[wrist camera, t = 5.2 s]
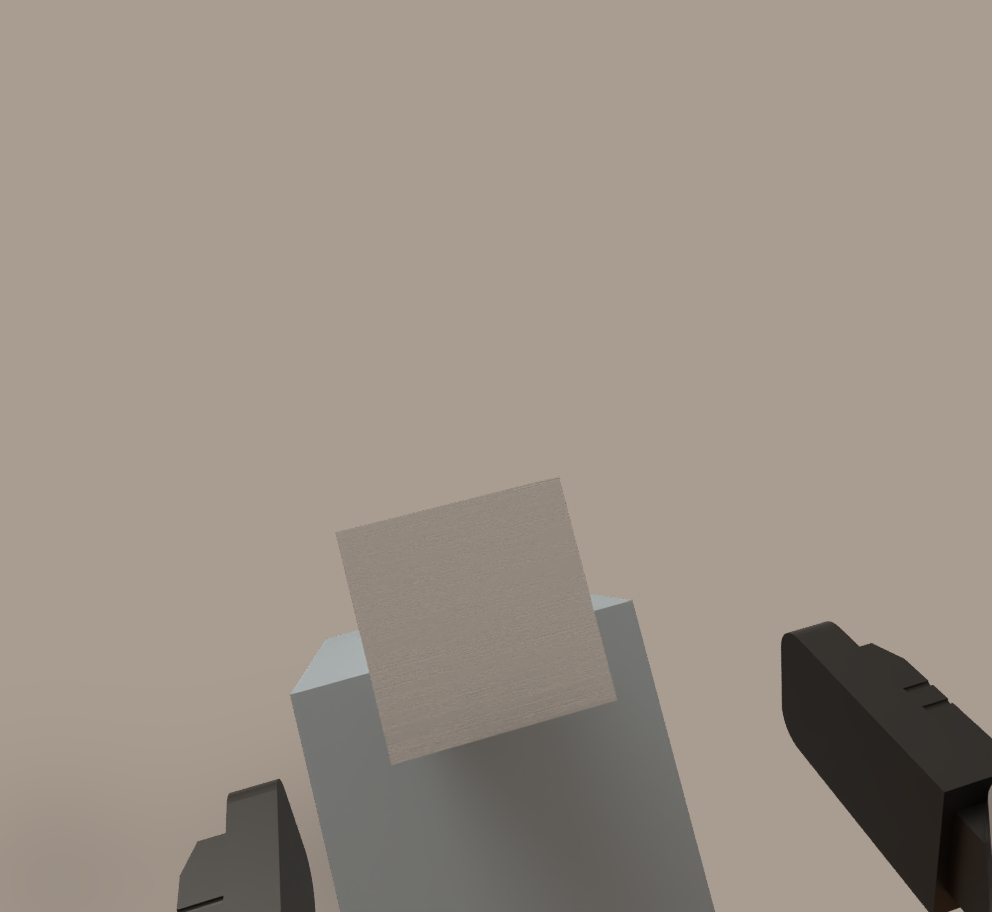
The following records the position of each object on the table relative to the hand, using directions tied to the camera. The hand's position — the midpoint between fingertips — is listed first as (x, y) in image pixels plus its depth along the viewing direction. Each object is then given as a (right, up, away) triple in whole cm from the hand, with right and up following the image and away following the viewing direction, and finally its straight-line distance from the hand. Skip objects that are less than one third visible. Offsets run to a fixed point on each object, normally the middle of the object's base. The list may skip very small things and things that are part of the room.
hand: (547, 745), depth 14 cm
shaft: (-2, -1, +14) cm, 15 cm away
